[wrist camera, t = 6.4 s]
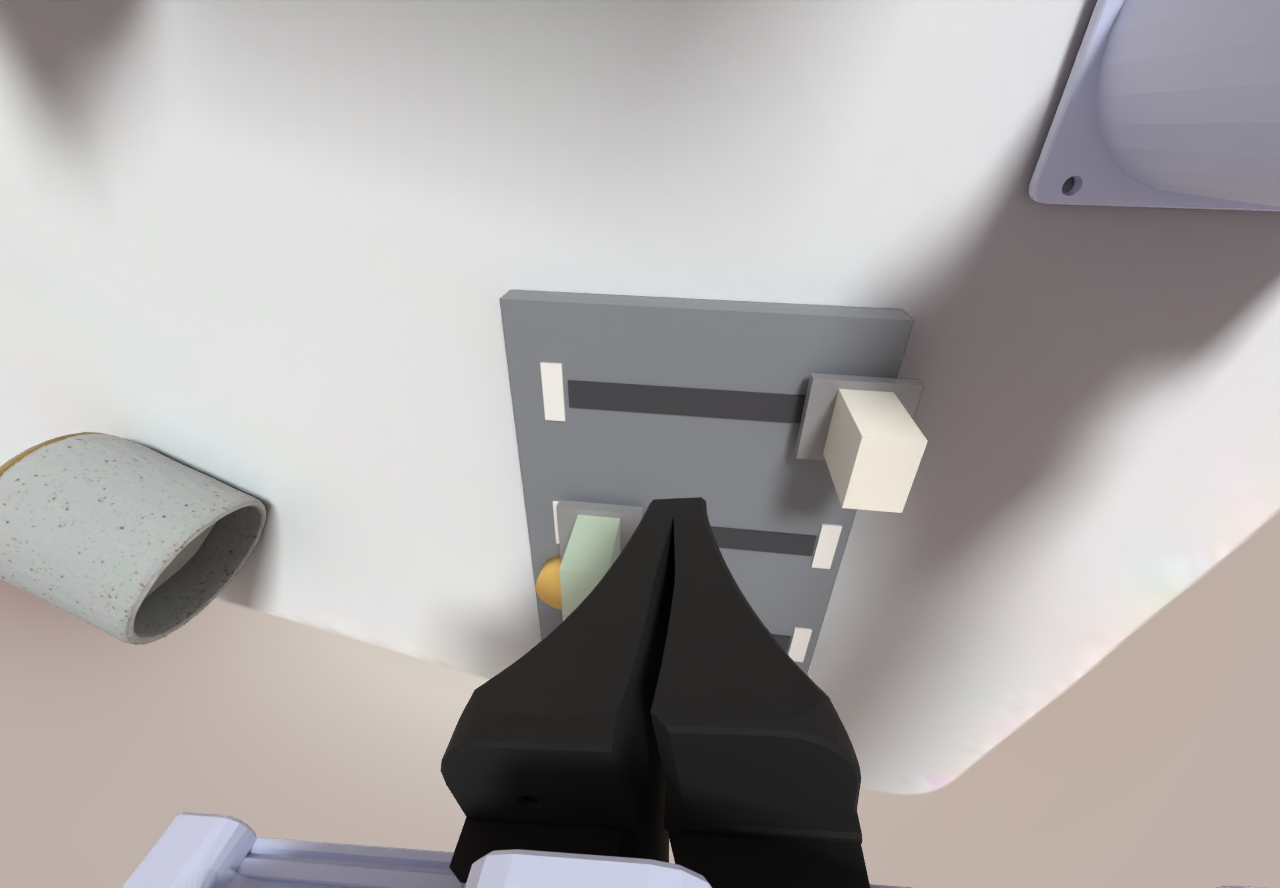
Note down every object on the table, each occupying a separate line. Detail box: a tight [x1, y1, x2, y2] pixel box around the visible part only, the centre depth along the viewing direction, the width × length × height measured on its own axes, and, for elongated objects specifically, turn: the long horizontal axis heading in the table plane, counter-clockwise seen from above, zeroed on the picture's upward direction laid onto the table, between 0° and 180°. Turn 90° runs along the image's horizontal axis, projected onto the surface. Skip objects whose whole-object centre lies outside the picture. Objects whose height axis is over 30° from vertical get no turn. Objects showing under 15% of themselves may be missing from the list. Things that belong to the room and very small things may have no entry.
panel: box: [500, 290, 914, 675], centre depth 23 cm, size 14×20×2 cm
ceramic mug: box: [0, 432, 266, 645], centre depth 24 cm, size 10×8×7 cm
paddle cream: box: [795, 373, 928, 513], centre depth 17 cm, size 4×3×4 cm
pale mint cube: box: [556, 500, 643, 618], centre depth 21 cm, size 4×3×4 cm
